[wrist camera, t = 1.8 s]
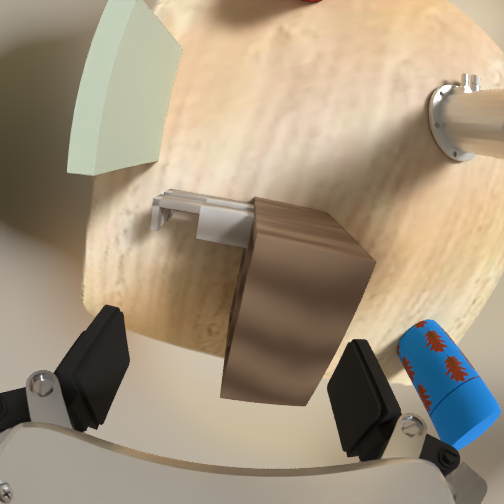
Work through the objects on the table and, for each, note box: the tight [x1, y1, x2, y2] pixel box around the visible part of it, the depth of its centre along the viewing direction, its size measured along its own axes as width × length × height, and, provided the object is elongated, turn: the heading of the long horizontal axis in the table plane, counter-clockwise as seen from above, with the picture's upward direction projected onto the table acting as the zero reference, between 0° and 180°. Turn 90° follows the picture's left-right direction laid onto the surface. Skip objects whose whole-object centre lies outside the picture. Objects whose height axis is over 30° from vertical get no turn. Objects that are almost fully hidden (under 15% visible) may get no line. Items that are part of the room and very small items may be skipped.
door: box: [67, 0, 183, 176], centre depth 22 cm, size 16×4×16 cm, turn 168°
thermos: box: [397, 320, 501, 450], centre depth 33 cm, size 11×11×25 cm
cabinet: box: [150, 189, 376, 406], centre depth 31 cm, size 19×21×16 cm
